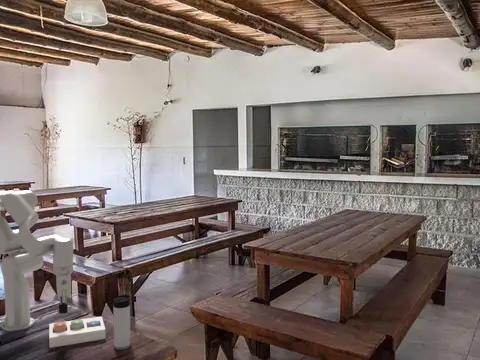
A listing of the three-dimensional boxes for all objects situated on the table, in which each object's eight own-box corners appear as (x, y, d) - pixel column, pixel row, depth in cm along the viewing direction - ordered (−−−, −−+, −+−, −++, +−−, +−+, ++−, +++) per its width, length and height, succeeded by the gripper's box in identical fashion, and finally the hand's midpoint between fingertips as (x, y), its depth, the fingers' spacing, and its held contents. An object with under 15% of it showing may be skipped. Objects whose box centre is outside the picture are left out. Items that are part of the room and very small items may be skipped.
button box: (49, 347, 171) (49, 337, 170) (49, 333, 184) (49, 323, 183) (105, 338, 179) (105, 329, 179) (101, 325, 192) (101, 316, 191)
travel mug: (134, 345, 174) (133, 296, 172) (121, 351, 168) (120, 301, 167) (123, 340, 177) (123, 292, 175) (110, 347, 172) (109, 297, 170)
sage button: (71, 334, 178) (71, 324, 178) (70, 329, 182) (70, 320, 182) (83, 332, 180) (83, 323, 179) (82, 328, 184) (82, 318, 184)
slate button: (88, 335, 181) (88, 326, 180) (87, 330, 185) (87, 321, 185) (100, 333, 183) (99, 324, 182) (98, 329, 187) (98, 320, 186)
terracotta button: (54, 337, 175) (53, 327, 175) (53, 332, 180) (53, 322, 179) (66, 335, 177) (66, 325, 177) (66, 330, 181) (65, 321, 181)
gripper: (74, 273, 172) (74, 318, 174) (71, 262, 185) (71, 304, 187) (53, 275, 168) (54, 321, 170) (52, 264, 182) (52, 307, 184)
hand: (63, 312), depth 179 cm, fingers closed
